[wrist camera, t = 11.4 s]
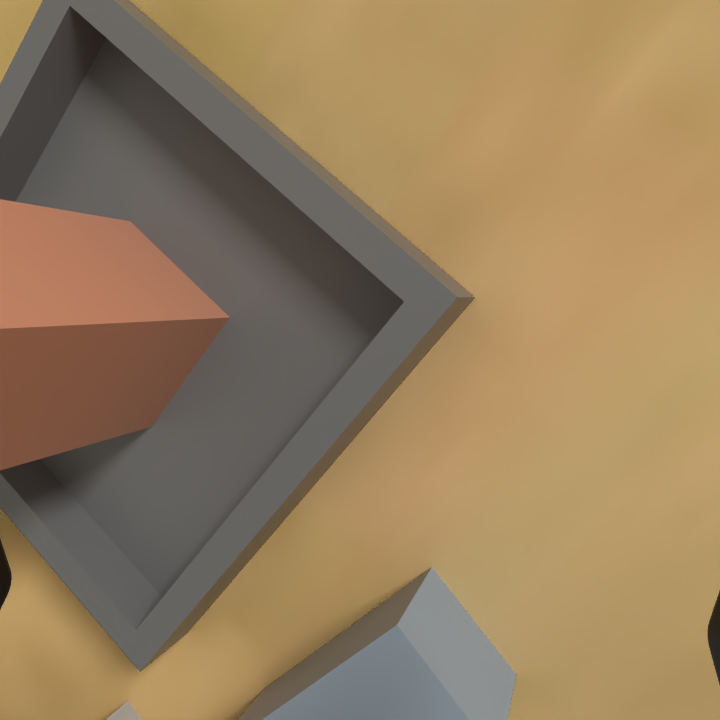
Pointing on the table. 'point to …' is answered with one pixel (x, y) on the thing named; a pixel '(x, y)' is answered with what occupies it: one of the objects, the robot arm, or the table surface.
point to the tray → (227, 290)
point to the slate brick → (398, 667)
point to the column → (89, 330)
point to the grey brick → (125, 713)
